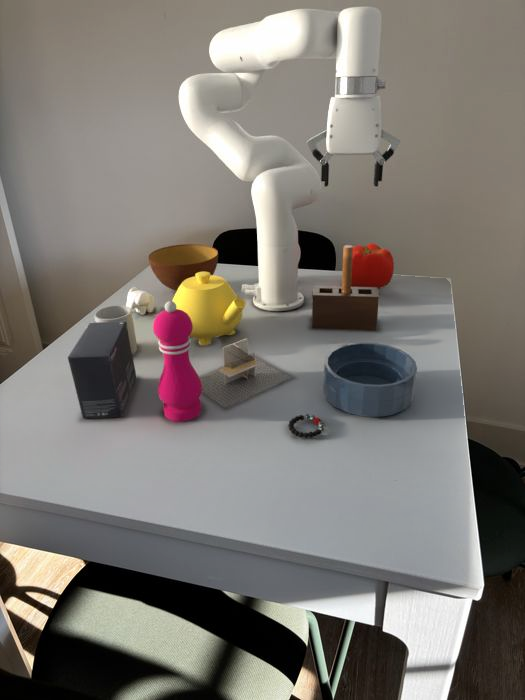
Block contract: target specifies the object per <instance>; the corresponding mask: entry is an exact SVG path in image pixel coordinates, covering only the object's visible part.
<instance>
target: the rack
mask: <svg viewBox="0 0 525 700" xmlns="http://www.w3.org/2000/svg"><path fill="white" fill-rule="evenodd" d="M341 290H342V286H339V285H338V286H336V285H335V286H334V285H331V286H330V285H313V288H312V296H311V297H312V300H311V301H312V303H311V329H312V330H335V331H336V330H339V331H340V330H341V331H364V332H365V331H366V332H370V331H371V332H377V325H378V315H379V314H378V313H379V303H380V302H379V301H380V294H379V289H378V288H377V287H351V294H341Z"/></svg>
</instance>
